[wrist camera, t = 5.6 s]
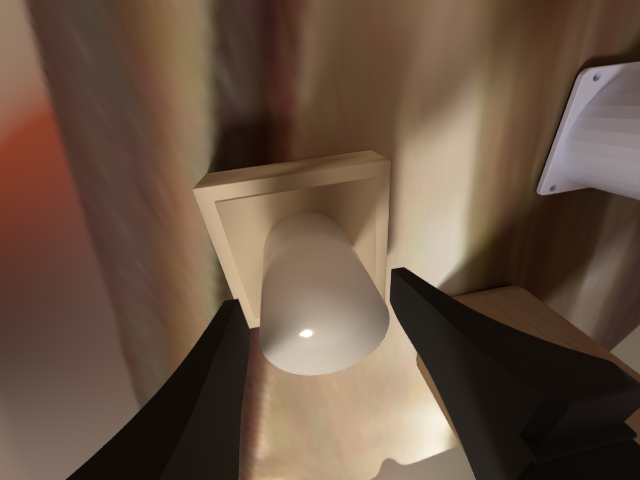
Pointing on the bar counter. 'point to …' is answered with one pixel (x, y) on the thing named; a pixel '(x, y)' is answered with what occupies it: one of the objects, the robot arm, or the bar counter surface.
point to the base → (293, 198)
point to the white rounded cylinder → (317, 298)
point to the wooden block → (531, 333)
